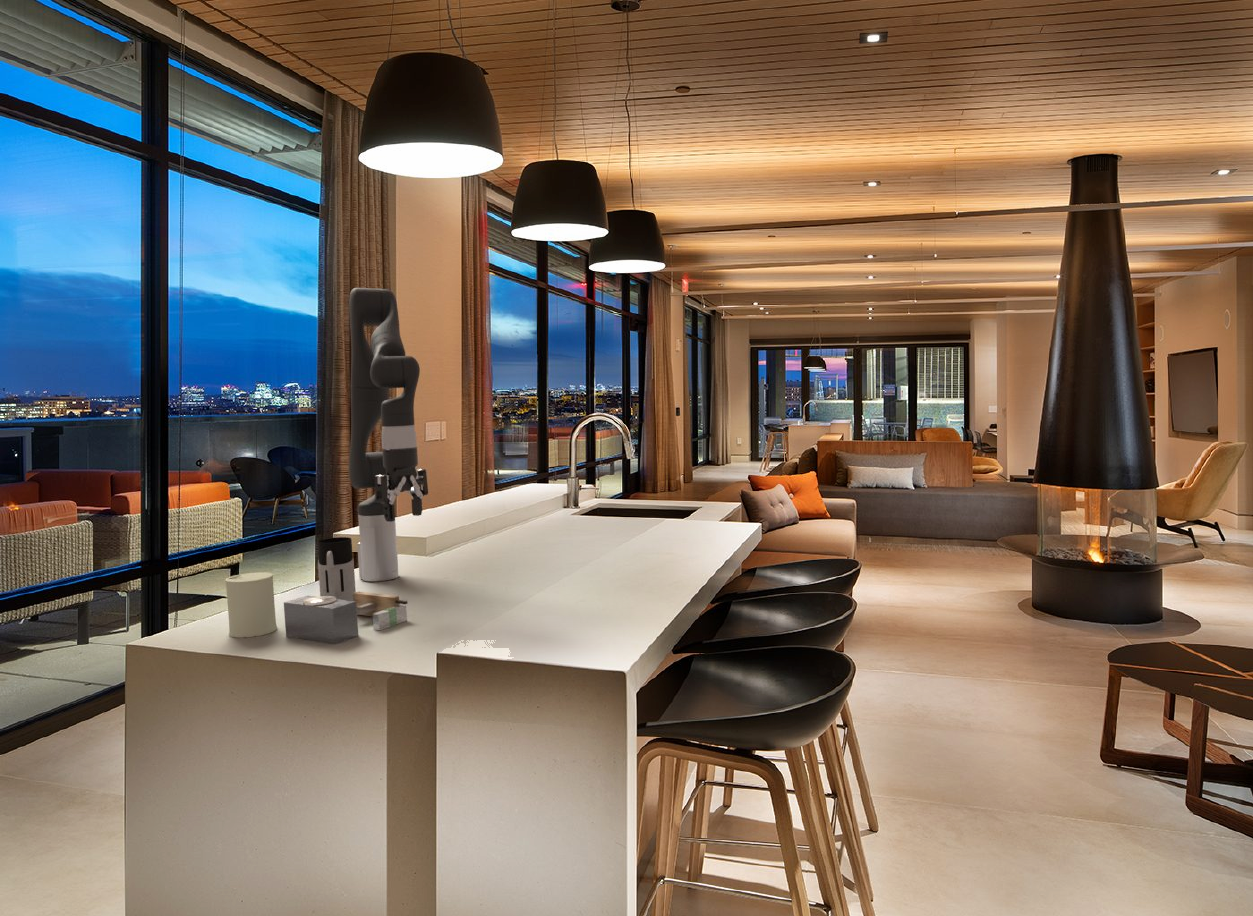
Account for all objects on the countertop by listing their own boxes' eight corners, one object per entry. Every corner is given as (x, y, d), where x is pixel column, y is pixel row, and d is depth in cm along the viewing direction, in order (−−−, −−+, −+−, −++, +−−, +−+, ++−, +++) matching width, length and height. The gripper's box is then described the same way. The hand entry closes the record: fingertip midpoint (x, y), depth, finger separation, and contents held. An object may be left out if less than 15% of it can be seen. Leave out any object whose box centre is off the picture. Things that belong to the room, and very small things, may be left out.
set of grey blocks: (285, 636, 173) (282, 600, 173) (355, 613, 189) (353, 580, 189) (338, 644, 166) (336, 607, 165) (407, 620, 182) (405, 586, 181)
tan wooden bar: (340, 618, 184) (338, 597, 184) (359, 611, 189) (358, 591, 189) (390, 625, 177) (389, 603, 177) (410, 618, 182) (408, 597, 182)
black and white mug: (360, 597, 204) (356, 535, 203) (352, 612, 191) (347, 546, 189) (322, 600, 203) (318, 538, 202) (311, 615, 189) (306, 548, 188)
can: (238, 626, 182) (234, 571, 181) (283, 624, 183) (279, 568, 182) (221, 639, 173) (217, 580, 172) (268, 636, 174) (264, 578, 173)
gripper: (409, 443, 199) (413, 513, 200) (363, 448, 186) (368, 522, 188) (434, 443, 195) (438, 514, 196) (389, 448, 183) (393, 524, 184)
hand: (403, 518), depth 192 cm, fingers open, 8 cm apart
